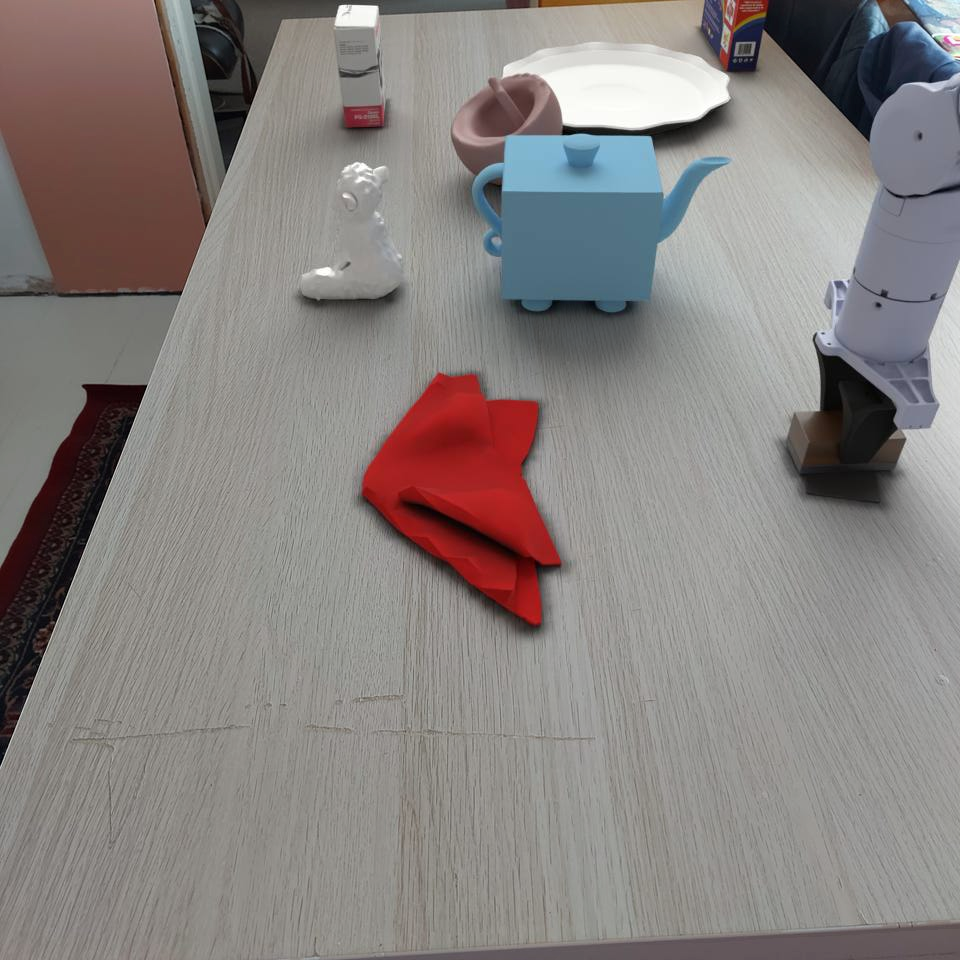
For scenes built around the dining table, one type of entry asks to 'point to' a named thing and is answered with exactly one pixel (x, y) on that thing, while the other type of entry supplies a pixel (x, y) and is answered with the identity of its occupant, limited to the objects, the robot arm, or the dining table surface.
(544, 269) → the teapot
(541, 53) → the plate
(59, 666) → the dining table surface
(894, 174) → the robot arm
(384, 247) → the seated beast figurine
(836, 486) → the dark grey flat slab
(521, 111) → the mortar and pestle
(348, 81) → the ink box
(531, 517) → the cloth
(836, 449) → the eraser
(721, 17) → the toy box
